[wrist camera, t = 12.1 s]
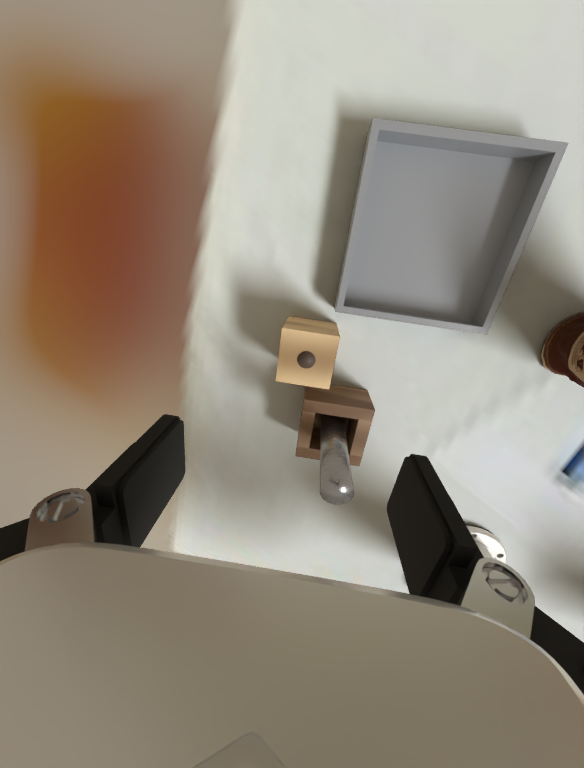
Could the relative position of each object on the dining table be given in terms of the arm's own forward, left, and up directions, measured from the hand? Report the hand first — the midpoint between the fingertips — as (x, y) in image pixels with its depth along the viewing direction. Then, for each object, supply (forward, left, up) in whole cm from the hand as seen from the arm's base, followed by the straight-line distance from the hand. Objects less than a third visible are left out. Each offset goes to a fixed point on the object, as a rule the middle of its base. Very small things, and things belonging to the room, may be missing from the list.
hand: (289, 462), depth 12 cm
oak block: (0, 0, -20) cm, 20 cm away
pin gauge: (-8, -4, -19) cm, 21 cm away
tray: (+11, -9, -20) cm, 25 cm away
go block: (-8, -4, -20) cm, 22 cm away
